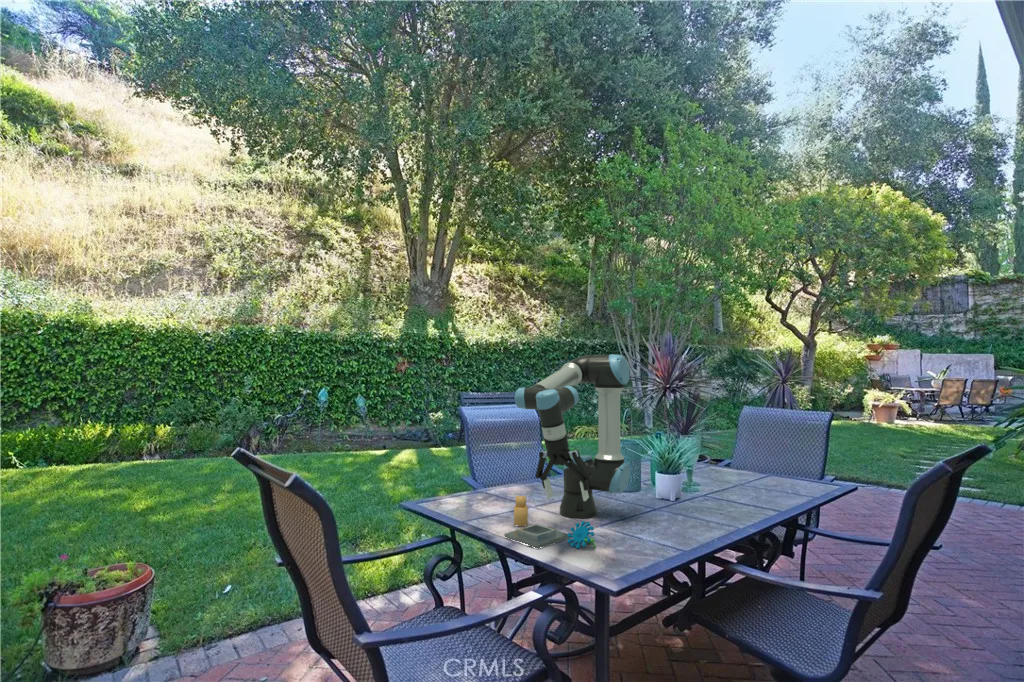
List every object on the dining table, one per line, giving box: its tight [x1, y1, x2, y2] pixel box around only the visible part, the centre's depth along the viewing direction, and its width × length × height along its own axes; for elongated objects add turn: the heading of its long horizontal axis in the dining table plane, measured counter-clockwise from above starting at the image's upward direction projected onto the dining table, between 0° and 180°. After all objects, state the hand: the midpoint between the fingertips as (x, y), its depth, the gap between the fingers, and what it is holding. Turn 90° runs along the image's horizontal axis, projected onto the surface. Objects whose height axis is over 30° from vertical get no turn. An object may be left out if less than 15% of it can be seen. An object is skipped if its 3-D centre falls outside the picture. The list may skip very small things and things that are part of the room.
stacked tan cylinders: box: [513, 495, 529, 526], centre depth 205 cm, size 5×5×10 cm
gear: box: [567, 520, 597, 550], centre depth 182 cm, size 11×6×10 cm
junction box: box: [503, 523, 570, 549], centre depth 189 cm, size 16×16×3 cm
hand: (567, 498), depth 179 cm, fingers open, 13 cm apart
